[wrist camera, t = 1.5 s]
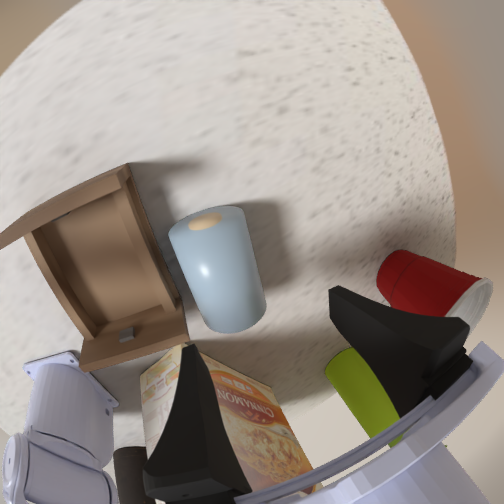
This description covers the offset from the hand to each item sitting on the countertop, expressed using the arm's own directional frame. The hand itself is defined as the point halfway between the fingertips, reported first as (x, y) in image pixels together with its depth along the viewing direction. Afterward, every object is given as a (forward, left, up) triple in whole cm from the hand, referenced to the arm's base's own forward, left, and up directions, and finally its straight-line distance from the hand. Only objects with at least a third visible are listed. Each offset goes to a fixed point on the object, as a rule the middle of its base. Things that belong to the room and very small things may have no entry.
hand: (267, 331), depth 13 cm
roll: (0, 0, -9) cm, 9 cm away
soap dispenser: (-22, -11, -10) cm, 26 cm away
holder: (+3, +9, -9) cm, 13 cm away
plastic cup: (-10, -18, -10) cm, 23 cm away
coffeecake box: (-15, +6, -10) cm, 19 cm away
